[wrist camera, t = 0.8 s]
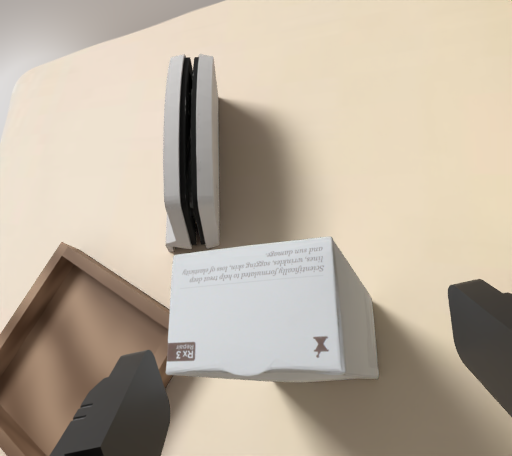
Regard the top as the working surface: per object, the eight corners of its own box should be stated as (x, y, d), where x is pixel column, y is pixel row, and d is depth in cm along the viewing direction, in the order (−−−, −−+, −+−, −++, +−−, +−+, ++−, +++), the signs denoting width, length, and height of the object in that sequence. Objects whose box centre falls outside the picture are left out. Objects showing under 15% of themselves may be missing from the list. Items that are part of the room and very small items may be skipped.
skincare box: (372, 297, 31) (344, 225, 18) (380, 385, 28) (355, 376, 15) (264, 304, 33) (169, 245, 20) (263, 384, 31) (157, 377, 18)
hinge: (174, 106, 44) (154, 29, 35) (219, 105, 44) (211, 27, 35) (168, 255, 38) (142, 208, 29) (221, 253, 38) (211, 206, 29)
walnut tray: (80, 250, 42) (61, 241, 39) (199, 329, 34) (185, 324, 32) (-17, 397, 39) (-42, 397, 37) (90, 516, 32) (66, 525, 30)
